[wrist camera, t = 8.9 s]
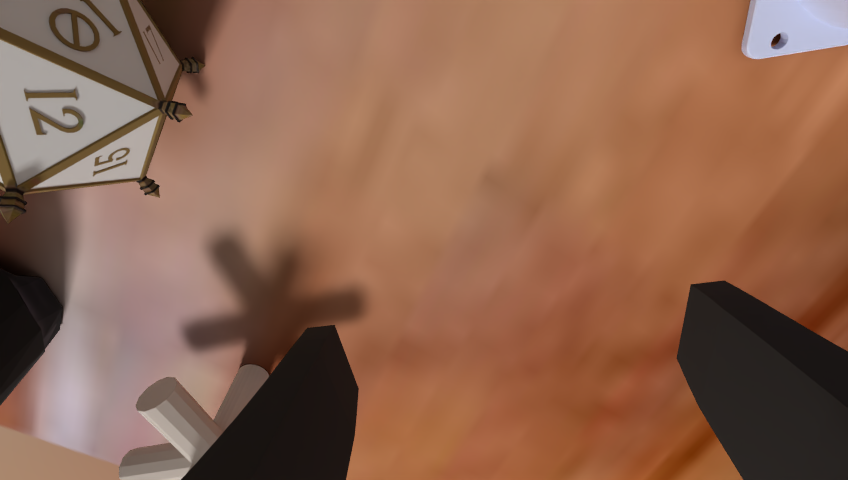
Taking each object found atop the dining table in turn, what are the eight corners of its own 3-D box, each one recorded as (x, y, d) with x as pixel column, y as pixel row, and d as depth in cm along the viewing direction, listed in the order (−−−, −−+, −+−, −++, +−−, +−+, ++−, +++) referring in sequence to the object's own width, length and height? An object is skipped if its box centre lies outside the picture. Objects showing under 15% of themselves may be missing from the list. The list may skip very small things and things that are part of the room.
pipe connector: (291, 296, 22) (200, 496, 14) (361, 413, 28) (325, 611, 19) (131, 331, 24) (-33, 526, 16) (224, 434, 29) (137, 624, 21)
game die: (134, 43, 20) (-249, 41, 12) (172, -146, 14) (-521, -356, 7) (228, 215, 19) (-113, 315, 12) (309, 98, 13) (-270, 159, 6)
